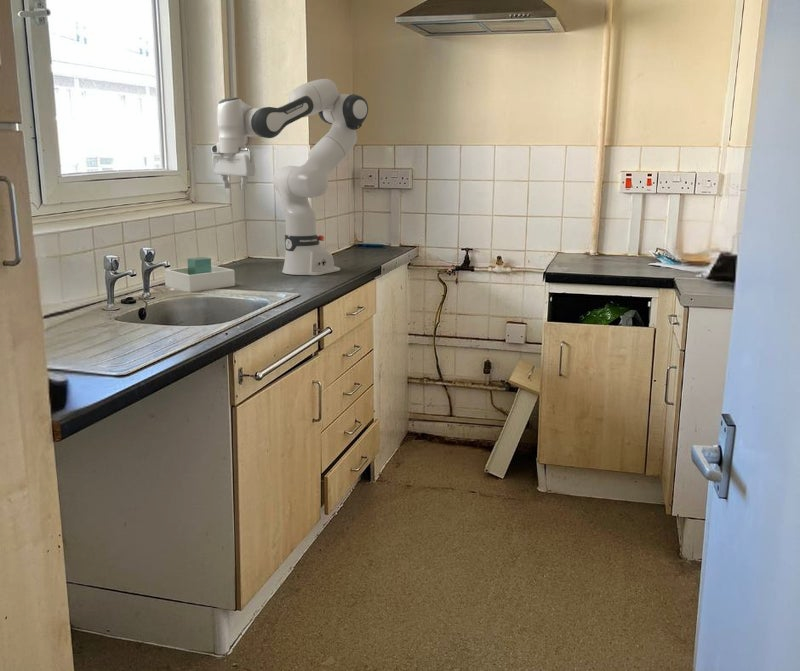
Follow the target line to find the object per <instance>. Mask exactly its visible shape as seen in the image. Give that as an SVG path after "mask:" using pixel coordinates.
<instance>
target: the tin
mask: <svg viewBox="0 0 800 671" xmlns="http://www.w3.org/2000/svg"><path fill="white" fill-rule="evenodd" d="M211 265H212V258H211V257H206V256H199V257H189V258H187V267H188V275H194V274H202V273H211Z"/></svg>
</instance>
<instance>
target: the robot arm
mask: <svg viewBox="0 0 800 671" xmlns="http://www.w3.org/2000/svg"><path fill="white" fill-rule="evenodd" d="M368 113H369V104H368V101H367V100H366V98H364V97H362V95H361V96H360V95H359V94H355V93H353V94H352V93H351V94H348V93H341V94H340V93H339V89H338V87H337V85H336V84H335V82H334V81H333V80H331V79H329V78H321V79H320V78H319V79H314V80H311V81H308V82H305V83H303V84H301V85H299V86H297V87H295V88H294V89H292V90H291V91H290V93H289V96H288V102H287V103H285V104H282V105H281V106H279V107H273V106H272V107H271V106H267V107H253V106H250V105H248V104H247V103H245V102H244V101H243V100H242V99H241V98H240V97H229V98H224V99H221V100H220V101H219V102H218V105H217V109H216V121H217V128H218V142H217V143H215V144H214V145H211V147H210V151H211V153H212V156H211V160H212V161H211V163H212V171H213V173H214V175H218V176H219V175H220V179H221V181H222V183H223V188H224V189H231V182H229V176H235V177H237V176H238V177H240V180H241V182H240V184H238V185H239V190H243V191H246V190H247V184H248V181H249V177H254V176H255V175H256V167H255V161H254V156H253V154H252V151H251V150H250V149H249V148H248V147H246V137H250V138H265V139H273V138H275V137H277V136H278V135H280V133H282V131H283V130H284V129H285V128H286V127H287V126H288V125H290V124H292V123H294V122H297V121H299V120H300V119H302V118H307V117H310V116H313V115H317V114H318V116H319V118H320V119H321V120H322V122H324V123H326V124H329V125H331V127H330V129H329V130H328V132H327V133H326V134H324V135H323V137H321V139H320V140H318V141H317V143H315V144H314V146H313V147H311V148H310V150H309V151H308V159H307V160H306V162H305V163H304V164H302V165H300V166H295V165H288V166H284V167H281V168H279V169H277V170H276V172H275V173H274V175H273V177H272V178H273V180H272V182H273V186H274V188H275V190H276V191H277V193H278V194H279V197H280V198H281V199H280V200H281V202H282V205H283V209H284V218H285V235H284V246H285V254H284V255H285V256H284V263H283V267H282V271H281V273H282V274H286V275H292V276H293V275H294V276H295V275H297V276H321V275H325V274H331V273H334V272H339V271H341V268H340V267H338V266H335V261H334V257H333V255H332V253H331V252H330V251H328V250H327V249H326V248H325V247H323V246H322V244H320V241H321V242H324V241H325V240H326V239H325V236H324V235H317V234H316V233H317V232H316V231H317V230H316V229H317V228H316V213H315V211H314V210H313V208H312V207H311V205H310V202H309V199H312V198H317V197H321V196H323V195H324V194H325V193H326V191H327V189H328V186H329V177H330V175H331V173H332V172H333V171H334V170H335V169H336V168H337V166H338V165H339V164H341V163H342V161H343V160H344V159H345V158H346V157H347V156H348V155H349V153H351V151H352V150H353V148H354V146H355V145H356V143H357V140H358V136H357V135H358V134H357V132H356V130H359V129H360V128H361V127H362V125H363V123H364V121H366V119H367V116H368V115H369V114H368Z"/></svg>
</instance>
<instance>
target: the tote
mask: <svg viewBox="0 0 800 671" xmlns="http://www.w3.org/2000/svg"><path fill="white" fill-rule="evenodd" d="M164 280H165V282H164V283H165V287H170V288H173V289H176V290H177V289H178V290H181V291H185V292H189V293H192V292H198V291H207V290H214V289H221V288H228V287H235V286H236V277H235V270H234V269H232V268H226V267H222V266H217V265H212V264H211V273H202V274H194V275H188V266H186V267H178V268H170V269H164Z"/></svg>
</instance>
